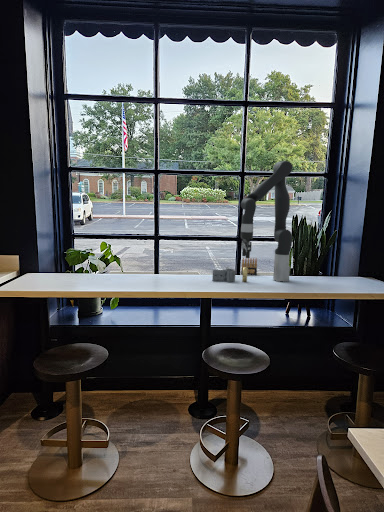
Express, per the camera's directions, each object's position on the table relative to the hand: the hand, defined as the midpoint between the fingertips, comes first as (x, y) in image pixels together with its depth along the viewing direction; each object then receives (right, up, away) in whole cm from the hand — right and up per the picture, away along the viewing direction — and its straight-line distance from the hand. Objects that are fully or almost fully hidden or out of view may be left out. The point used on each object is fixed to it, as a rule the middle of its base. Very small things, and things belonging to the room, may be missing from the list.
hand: (245, 257), depth 217 cm
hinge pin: (0, -16, +2) cm, 16 cm away
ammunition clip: (+6, -13, +25) cm, 29 cm away
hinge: (-14, -14, +8) cm, 21 cm away
